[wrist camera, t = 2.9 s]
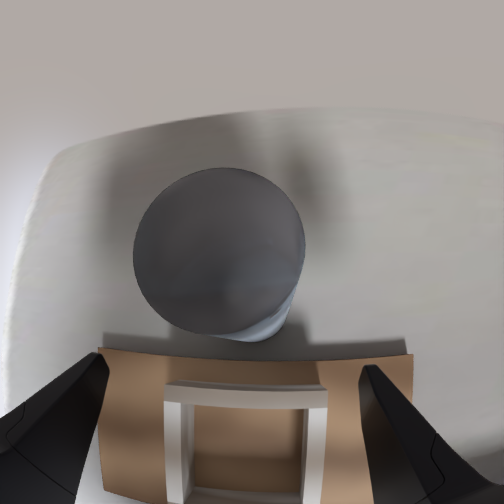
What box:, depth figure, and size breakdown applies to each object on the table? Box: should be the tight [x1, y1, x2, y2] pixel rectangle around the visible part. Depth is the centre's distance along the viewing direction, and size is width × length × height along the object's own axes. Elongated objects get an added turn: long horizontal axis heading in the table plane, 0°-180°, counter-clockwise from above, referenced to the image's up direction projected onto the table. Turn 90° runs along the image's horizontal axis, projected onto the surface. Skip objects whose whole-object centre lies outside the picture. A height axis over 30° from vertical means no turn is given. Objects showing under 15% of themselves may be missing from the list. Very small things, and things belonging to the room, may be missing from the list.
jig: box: [98, 347, 413, 504], centre depth 16 cm, size 12×22×4 cm, turn 89°
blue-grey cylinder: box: [133, 168, 305, 342], centre depth 14 cm, size 5×5×13 cm
